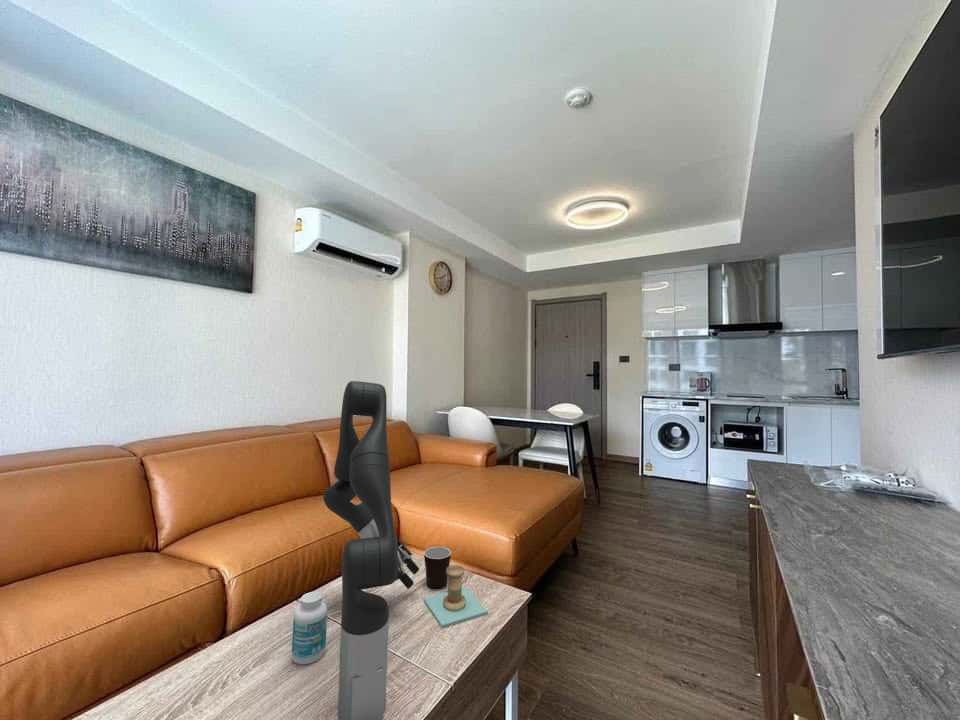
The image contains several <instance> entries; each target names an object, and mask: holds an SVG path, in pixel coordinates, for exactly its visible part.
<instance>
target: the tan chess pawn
mask: <svg viewBox="0 0 960 720" xmlns="http://www.w3.org/2000/svg"><path fill="white" fill-rule="evenodd" d="M446 574H447V576H448V579H447V592H448V595H446V596H445V597H444V599H443V607H444V608H445V609H446V610H448V611H460V610H462V609H463V608H464V607H465V597H464V596H463V595H461V594H462V588H463V587H462V585H463V583H462V582H463V576H464V575H465V568H464V567H463V566H462V565H458V564H452V565H449V567H447V569H446Z"/></svg>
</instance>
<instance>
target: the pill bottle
mask: <svg viewBox="0 0 960 720" xmlns="http://www.w3.org/2000/svg"><path fill="white" fill-rule="evenodd" d="M327 627H328V606H327V603H325V602H324V601H323V594H322V592H319V591H310V592H307V593H304V594H303V595H302V596H301V598H300V604H299V605H298V606H297V608H296V609H295V611H294V613H293V624H292V642H291V643H292V644H291V660H292V661H293V662H294V663H295V664H297V665H309V664H312V663H314V662H317V661H318V660H320V658H322V656H324V654H325V652H326V646H327Z"/></svg>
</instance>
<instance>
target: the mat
mask: <svg viewBox="0 0 960 720" xmlns="http://www.w3.org/2000/svg"><path fill="white" fill-rule="evenodd" d="M446 595H448V591H446V592H443V593H442V592H441V593H437V594H434V595H431V596H426V597H423V600H422V602H424V604H425V605H426V607H427V608H428V610H429V611H430V613H431V614H432V616H433V617H434V619H435V620H436V622H437V623H438V625H439V626H440V628H441V629H444V628H447V627H450V626H453V625H457V624H460V623H464V622H466V621H470V620H473V619H476V618H480V617H483V616H485V615H489V611H488V610H487V608H486V607H485V606H484V605H483V604H482V603H481V602H480V601H479V600H478V598H477V597H475V595H474V594H473V593H472V592H471V591H470V590H469V589H468V587H466V586H465V587H462V594H461V595H463V596H464V597H465V607H464V608H463V609H462V610H460V611H448V610H446V609H445V608H444V607H443V599H444V597H445V596H446Z"/></svg>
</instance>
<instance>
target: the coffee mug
mask: <svg viewBox="0 0 960 720" xmlns="http://www.w3.org/2000/svg"><path fill="white" fill-rule="evenodd" d="M451 554H452V551H451V549H449V548H447V547H444V546H432V547H429V548H426V549H425V550H424V552H423V556H424V568H425V569H424V570H425V580H426V581H425V582H426V587H427V588H428V589H430V590H433V591H437V590H439V591H440V590H442V589H444V588H446V587H447V586H448V576H447V574H446V569H447V567H449V566H450V565H451V564H450V563H451V556H452V555H451Z"/></svg>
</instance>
